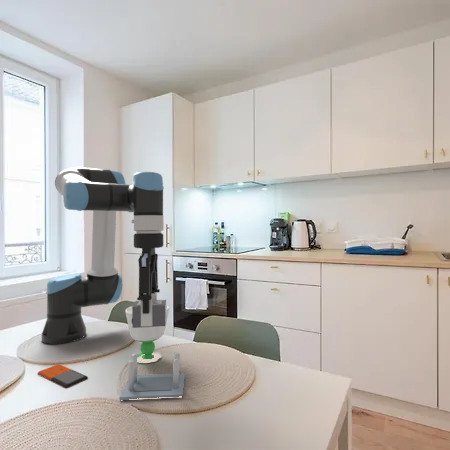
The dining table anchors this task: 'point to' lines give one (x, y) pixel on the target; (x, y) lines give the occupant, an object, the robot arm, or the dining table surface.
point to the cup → (145, 335)
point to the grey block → (157, 314)
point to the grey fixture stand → (153, 382)
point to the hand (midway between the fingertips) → (149, 321)
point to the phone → (62, 375)
